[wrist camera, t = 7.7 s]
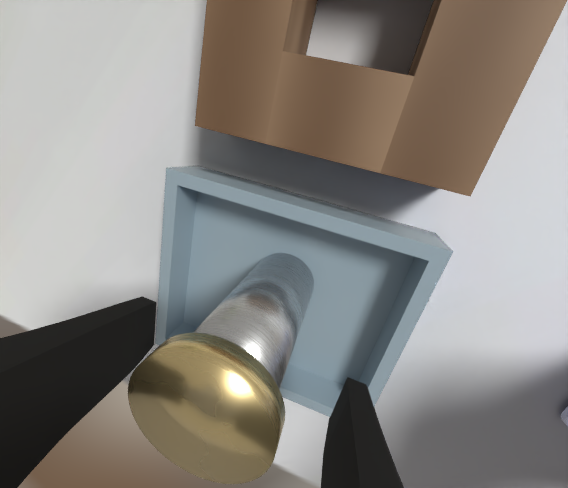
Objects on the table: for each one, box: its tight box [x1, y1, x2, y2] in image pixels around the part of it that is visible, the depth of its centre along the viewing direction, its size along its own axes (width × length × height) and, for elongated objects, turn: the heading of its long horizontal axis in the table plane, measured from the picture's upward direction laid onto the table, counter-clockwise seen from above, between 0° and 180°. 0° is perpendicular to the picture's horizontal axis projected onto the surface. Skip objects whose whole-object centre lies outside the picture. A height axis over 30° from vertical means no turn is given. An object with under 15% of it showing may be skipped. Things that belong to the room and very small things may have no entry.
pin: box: [128, 253, 314, 484], centre depth 10 cm, size 4×4×8 cm
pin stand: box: [195, 0, 567, 196], centre depth 9 cm, size 10×10×3 cm
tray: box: [155, 166, 453, 417], centre depth 14 cm, size 12×10×2 cm
